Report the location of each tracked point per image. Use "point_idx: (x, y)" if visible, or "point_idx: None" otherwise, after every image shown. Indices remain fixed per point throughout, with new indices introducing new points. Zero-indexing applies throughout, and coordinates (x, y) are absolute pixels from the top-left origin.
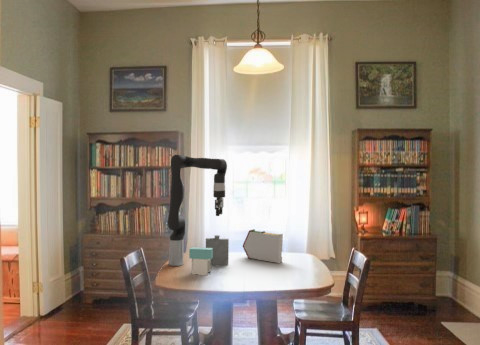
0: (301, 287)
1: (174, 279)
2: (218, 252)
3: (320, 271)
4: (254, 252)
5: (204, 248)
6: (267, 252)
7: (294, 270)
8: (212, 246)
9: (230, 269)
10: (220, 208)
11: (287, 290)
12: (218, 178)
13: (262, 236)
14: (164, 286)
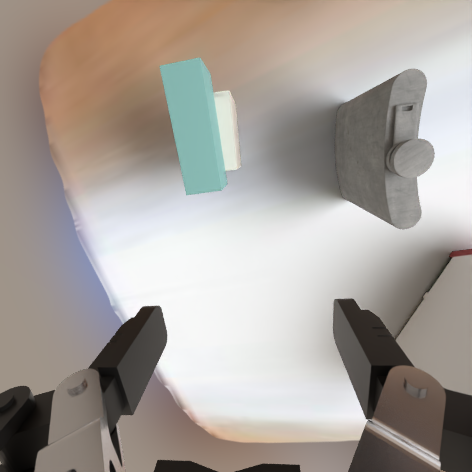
0: (187, 398)
1: (113, 73)
2: (354, 168)
3: (321, 434)
4: (457, 288)
5: (198, 150)
6: (429, 340)
7: (317, 386)
8: (365, 134)
9: (285, 225)
10: (376, 395)
11: (158, 377)
12: None
13: None
14: (40, 77)
